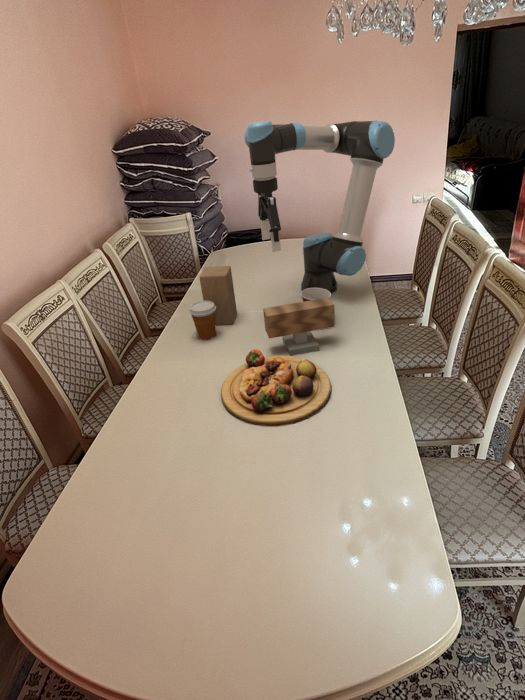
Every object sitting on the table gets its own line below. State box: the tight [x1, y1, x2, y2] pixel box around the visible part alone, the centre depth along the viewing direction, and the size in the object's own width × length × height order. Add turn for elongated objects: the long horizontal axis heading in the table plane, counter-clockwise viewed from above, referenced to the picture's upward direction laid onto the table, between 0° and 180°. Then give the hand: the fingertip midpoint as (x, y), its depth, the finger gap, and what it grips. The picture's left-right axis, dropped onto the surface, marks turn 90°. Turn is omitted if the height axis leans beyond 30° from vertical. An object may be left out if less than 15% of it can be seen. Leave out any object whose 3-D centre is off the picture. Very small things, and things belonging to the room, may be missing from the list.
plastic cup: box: [300, 288, 332, 302], centre depth 162 cm, size 11×11×12 cm
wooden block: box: [198, 265, 238, 326], centre depth 170 cm, size 10×10×20 cm
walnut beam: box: [262, 298, 336, 340], centre depth 147 cm, size 22×6×8 cm, turn 102°
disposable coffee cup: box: [189, 300, 217, 340], centre depth 162 cm, size 10×10×12 cm
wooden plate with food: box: [220, 348, 332, 427], centre depth 130 cm, size 32×32×8 cm
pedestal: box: [281, 331, 320, 356], centre depth 150 cm, size 10×10×6 cm
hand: (271, 244), depth 150 cm, fingers open, 13 cm apart
